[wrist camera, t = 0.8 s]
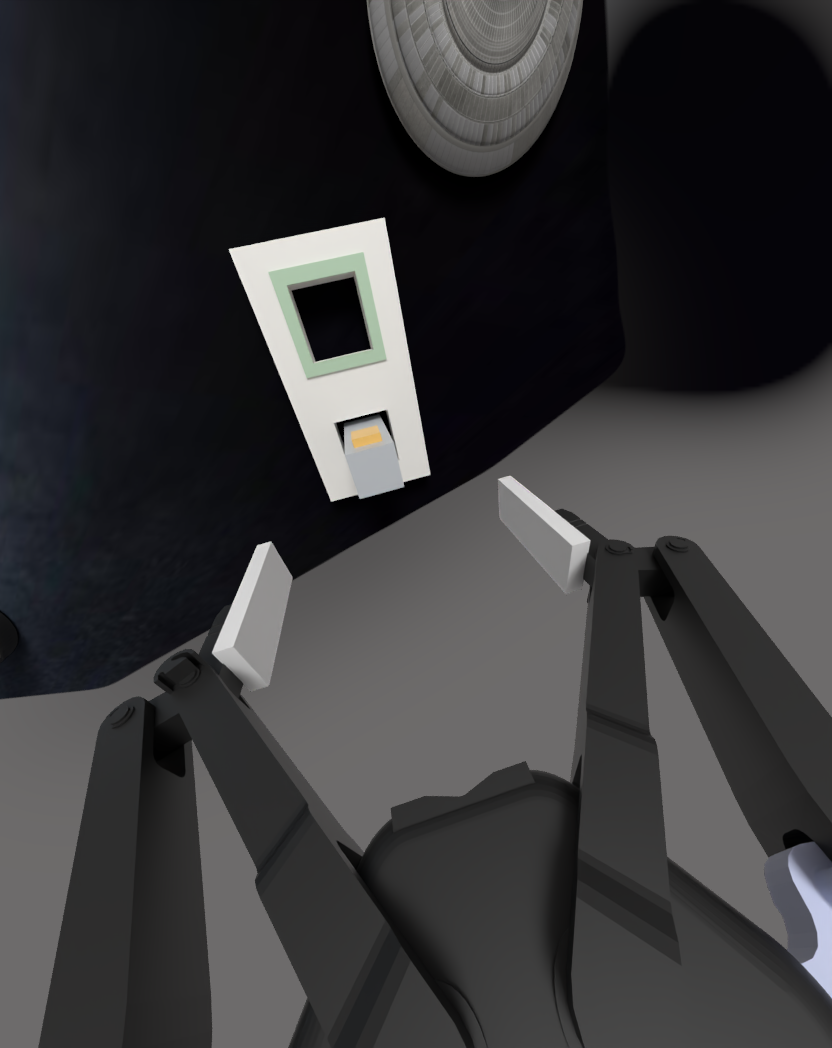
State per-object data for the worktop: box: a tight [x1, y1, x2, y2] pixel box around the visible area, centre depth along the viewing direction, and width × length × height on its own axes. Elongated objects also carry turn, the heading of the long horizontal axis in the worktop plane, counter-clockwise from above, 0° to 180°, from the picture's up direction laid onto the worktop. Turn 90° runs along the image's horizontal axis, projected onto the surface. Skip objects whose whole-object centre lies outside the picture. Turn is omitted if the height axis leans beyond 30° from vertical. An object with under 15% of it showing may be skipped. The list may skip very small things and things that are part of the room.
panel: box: [229, 218, 430, 502], centre depth 29 cm, size 12×22×3 cm, turn 11°
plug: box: [344, 415, 404, 499], centre depth 29 cm, size 4×5×11 cm
